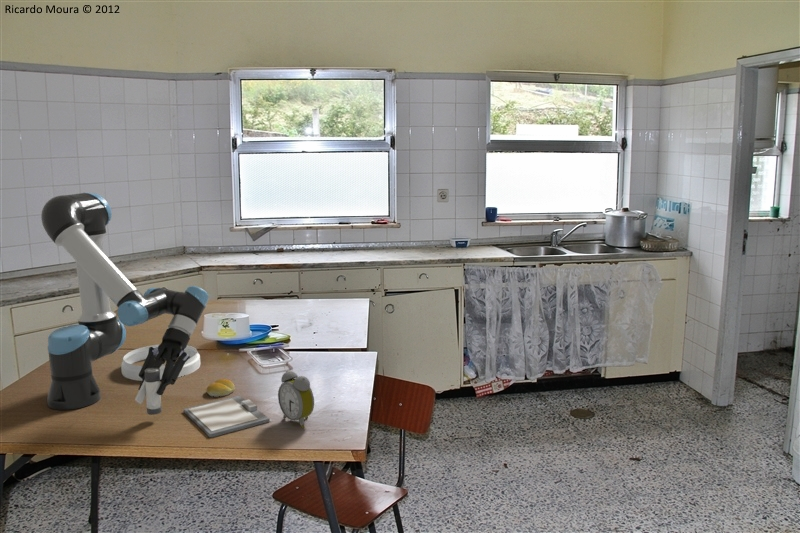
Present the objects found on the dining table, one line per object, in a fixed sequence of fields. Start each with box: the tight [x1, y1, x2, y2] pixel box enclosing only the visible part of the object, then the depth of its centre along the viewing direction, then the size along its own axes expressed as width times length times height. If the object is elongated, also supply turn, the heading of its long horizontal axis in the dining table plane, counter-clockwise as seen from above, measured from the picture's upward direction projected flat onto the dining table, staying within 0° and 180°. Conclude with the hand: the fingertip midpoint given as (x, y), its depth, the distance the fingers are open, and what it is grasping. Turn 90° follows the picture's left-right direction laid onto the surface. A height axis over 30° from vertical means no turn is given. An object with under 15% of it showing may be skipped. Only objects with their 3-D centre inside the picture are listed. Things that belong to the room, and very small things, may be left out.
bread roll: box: [205, 378, 236, 398], centre depth 216 cm, size 8×9×4 cm
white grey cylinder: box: [144, 368, 162, 416], centre depth 193 cm, size 4×4×13 cm
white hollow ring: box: [120, 343, 201, 382], centre depth 239 cm, size 27×27×6 cm
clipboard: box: [183, 395, 271, 438], centre depth 197 cm, size 22×18×2 cm
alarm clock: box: [277, 370, 315, 429], centre depth 192 cm, size 12×7×15 cm, turn 44°
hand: (144, 403), depth 189 cm, fingers closed on white grey cylinder, 4 cm apart
